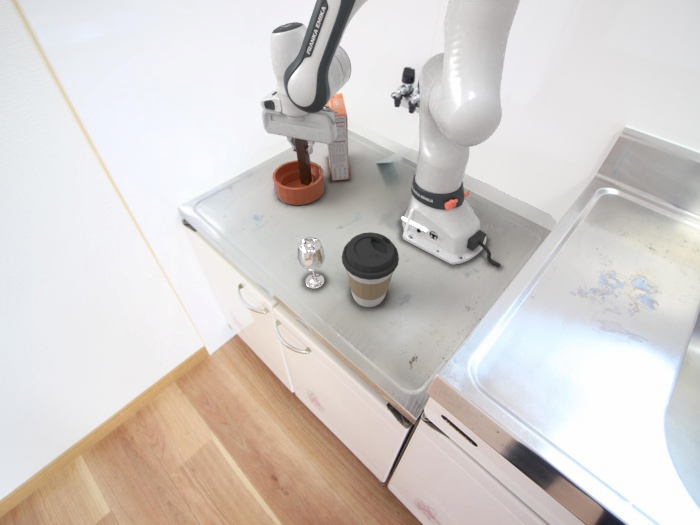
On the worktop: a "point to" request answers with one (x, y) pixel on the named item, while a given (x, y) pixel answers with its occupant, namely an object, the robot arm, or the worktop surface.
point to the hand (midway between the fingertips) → (302, 151)
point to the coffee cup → (369, 267)
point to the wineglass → (311, 260)
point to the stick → (303, 161)
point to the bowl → (297, 184)
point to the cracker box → (339, 141)
